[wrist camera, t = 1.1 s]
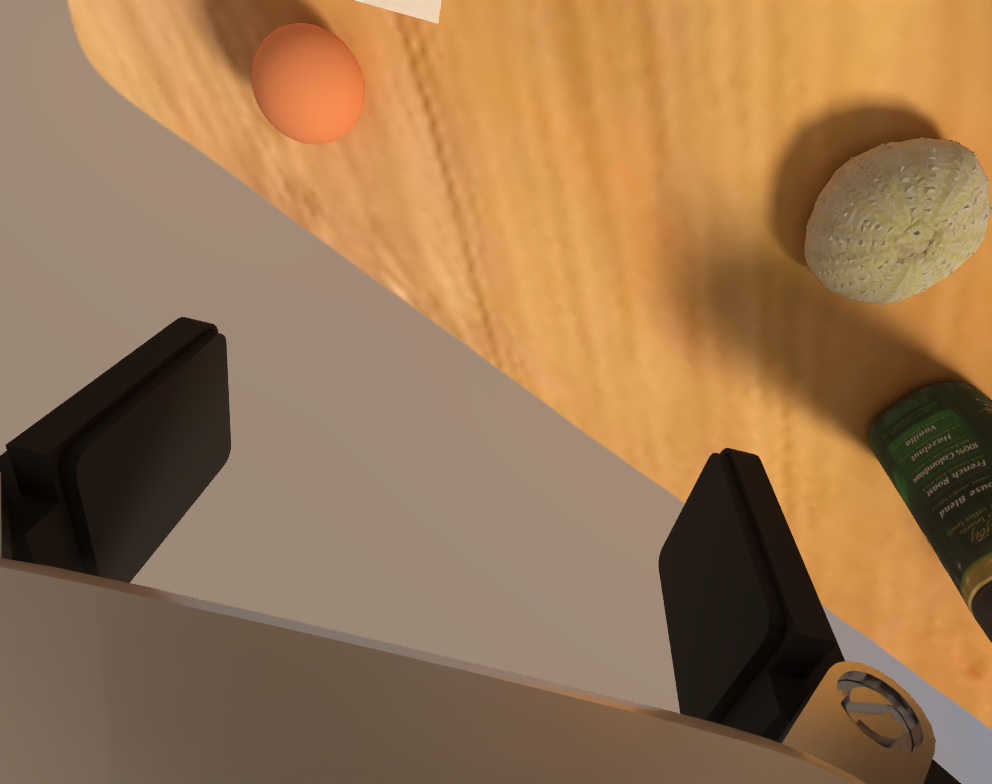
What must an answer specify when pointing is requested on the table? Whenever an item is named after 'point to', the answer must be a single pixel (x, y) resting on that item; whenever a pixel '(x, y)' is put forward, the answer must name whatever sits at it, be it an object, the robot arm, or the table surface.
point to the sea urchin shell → (898, 219)
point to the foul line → (411, 7)
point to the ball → (307, 83)
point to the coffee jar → (946, 480)
